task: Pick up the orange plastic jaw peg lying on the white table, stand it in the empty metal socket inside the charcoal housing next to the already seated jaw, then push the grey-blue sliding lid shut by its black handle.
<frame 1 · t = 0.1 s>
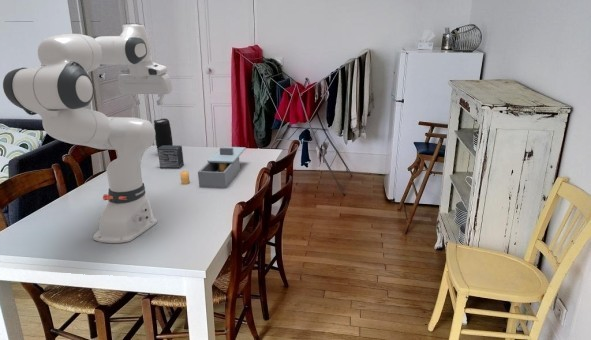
hand: (148, 104, 159), 39 cm above the table, tool pointing down, fingers open, 8 cm apart
small box: (172, 166, 208), on the table
portable speaker: (165, 155, 227), on the table
lid: (227, 151, 196), point 10 cm above the table, slide at 12.0 cm
jaw peg: (185, 184, 184), on the table
seated jaw: (223, 175, 192), point 1 cm above the table, touching housing
housing: (220, 180, 189), on the table
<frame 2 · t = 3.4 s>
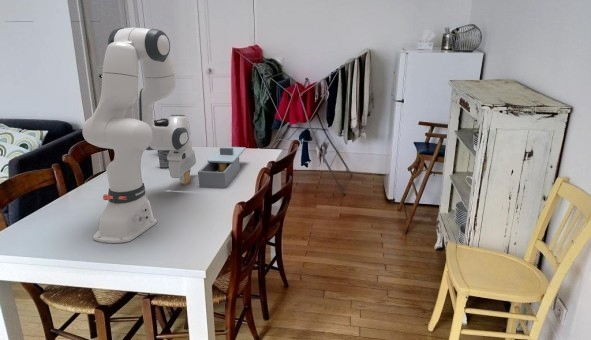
hand: (185, 180, 183), 2 cm above the table, tool pointing down, fingers closed on jaw peg, 4 cm apart
jaw peg: (185, 184, 184), on the table, touching gripper
everything else where it was.
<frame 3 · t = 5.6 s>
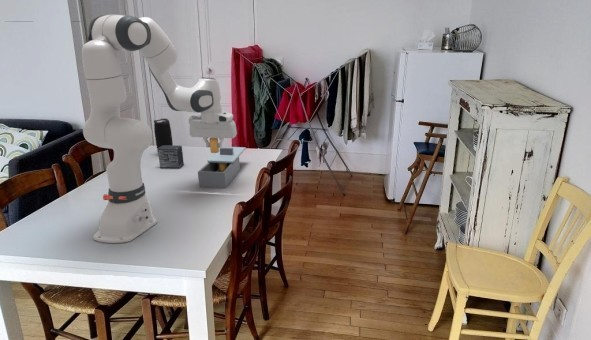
hand: (214, 147, 179), 17 cm above the table, tool pointing down, fingers closed on jaw peg, 4 cm apart
jaw peg: (214, 151, 179), point 15 cm above the table, touching gripper
everything else where it was.
when the fingers open (6 cm above the table, at t = 8.2 s): jaw peg drops 2 cm, resting on housing.
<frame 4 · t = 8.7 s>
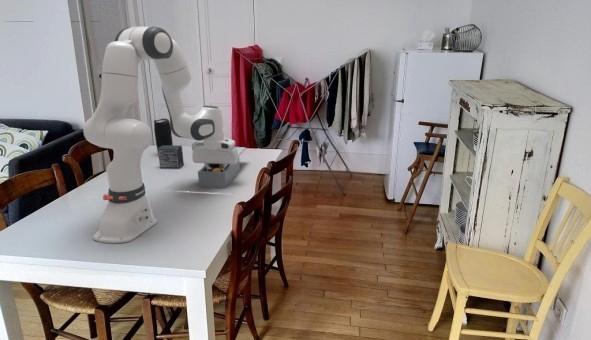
hand: (216, 172, 182), 6 cm above the table, tool pointing down, fingers open, 5 cm apart
jaw peg: (217, 182, 184), point 1 cm above the table, touching housing
everything else where it was.
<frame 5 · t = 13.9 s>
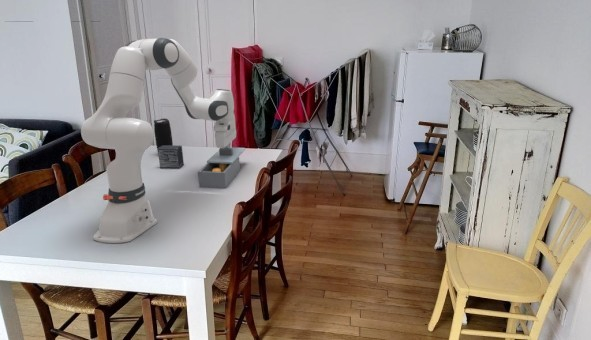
hand: (227, 151, 197), 10 cm above the table, tool pointing down, fingers closed
lid: (226, 152, 195), point 10 cm above the table, slide at 11.1 cm, touching gripper
everything else where it was.
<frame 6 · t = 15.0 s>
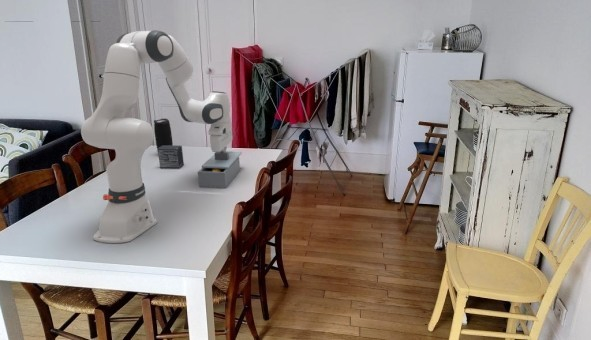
hand: (223, 155, 191), 10 cm above the table, tool pointing down, fingers closed
lid: (222, 156, 189), point 10 cm above the table, slide at 4.7 cm, touching gripper
everything else where it was.
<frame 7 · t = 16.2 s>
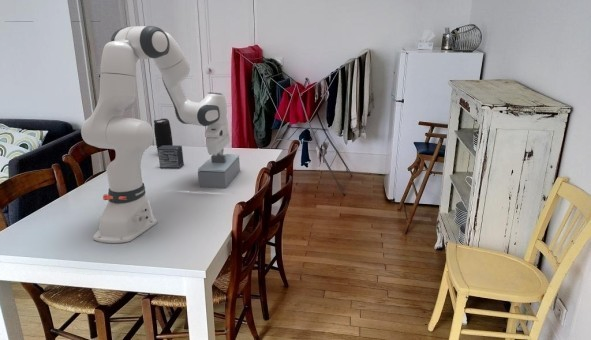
hand: (220, 158, 187), 10 cm above the table, tool pointing down, fingers closed
lid: (219, 159, 185), point 10 cm above the table, slide at 0.4 cm, touching gripper
everything else where it was.
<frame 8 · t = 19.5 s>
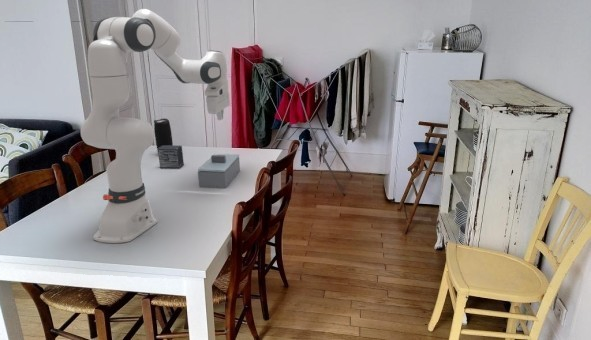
hand: (220, 119, 185), 27 cm above the table, tool pointing down, fingers closed
lid: (219, 159, 185), point 10 cm above the table, slide at 0.4 cm
everything else where it was.
at the end: jaw peg 0.0 cm from the target spot on the housing, point 1.0 cm above the housing's base; jaw peg tilted 1°; lid slide at 0.4 cm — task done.
